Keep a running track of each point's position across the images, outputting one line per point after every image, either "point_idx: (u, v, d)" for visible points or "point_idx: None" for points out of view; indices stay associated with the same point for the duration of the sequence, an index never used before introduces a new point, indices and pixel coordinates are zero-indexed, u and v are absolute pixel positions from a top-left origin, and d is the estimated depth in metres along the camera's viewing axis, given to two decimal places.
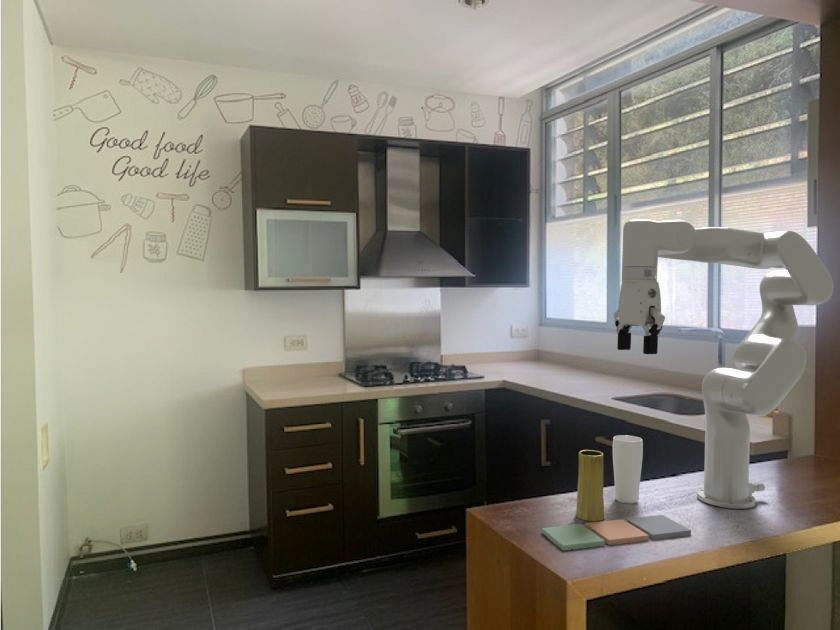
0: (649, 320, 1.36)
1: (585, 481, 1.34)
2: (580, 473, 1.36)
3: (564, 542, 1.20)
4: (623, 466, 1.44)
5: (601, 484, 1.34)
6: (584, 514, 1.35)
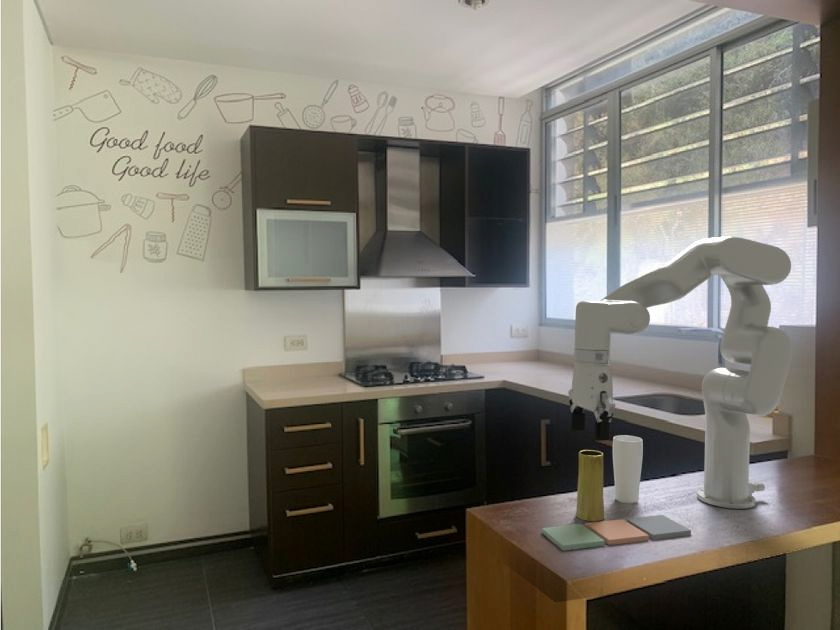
0: (601, 404, 1.33)
1: (585, 481, 1.34)
2: (580, 473, 1.36)
3: (564, 542, 1.20)
4: (623, 466, 1.44)
5: (601, 484, 1.34)
6: (584, 514, 1.35)
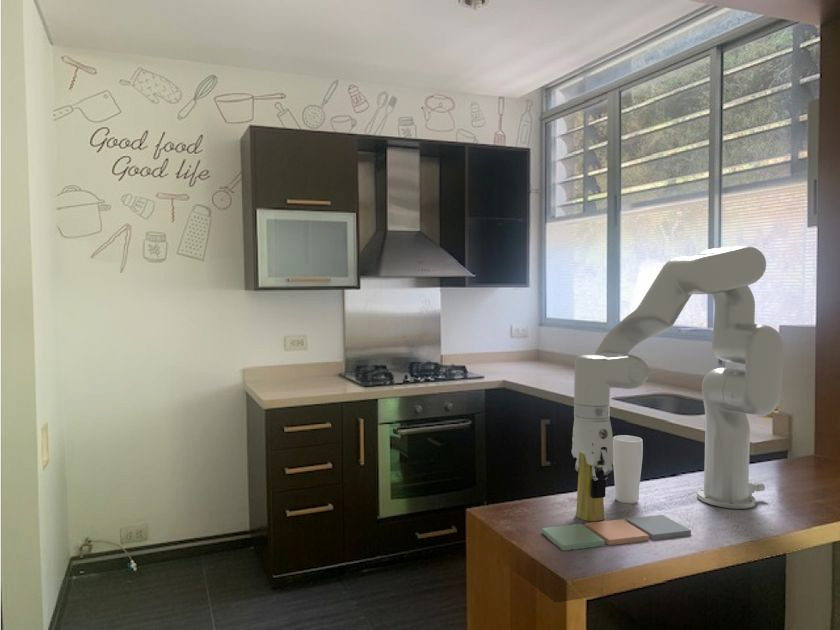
0: None
1: (585, 481, 1.34)
2: (580, 473, 1.36)
3: (564, 542, 1.20)
4: (623, 466, 1.44)
5: None
6: (584, 514, 1.35)
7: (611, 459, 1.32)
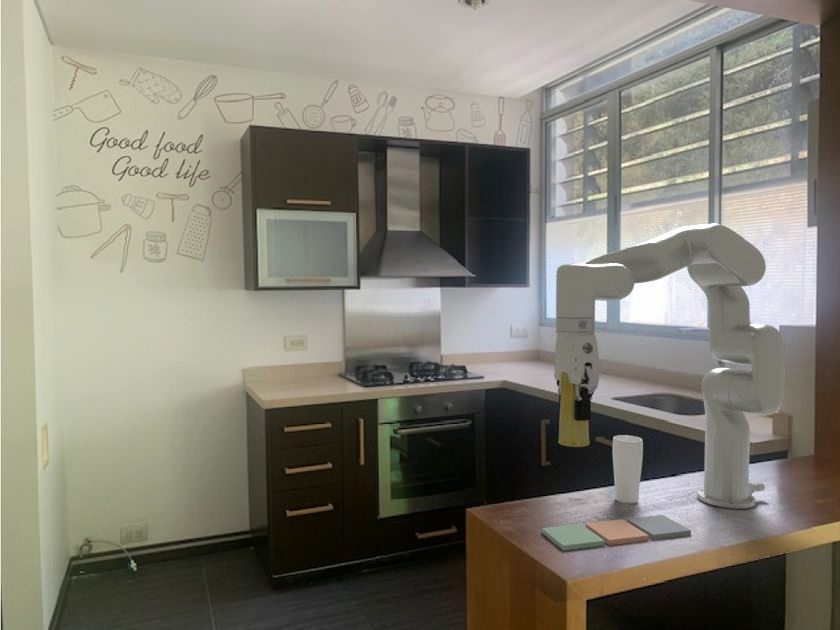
0: None
1: (568, 402, 1.21)
2: (562, 395, 1.23)
3: (564, 542, 1.20)
4: (623, 466, 1.44)
5: None
6: (566, 439, 1.22)
7: (596, 376, 1.19)
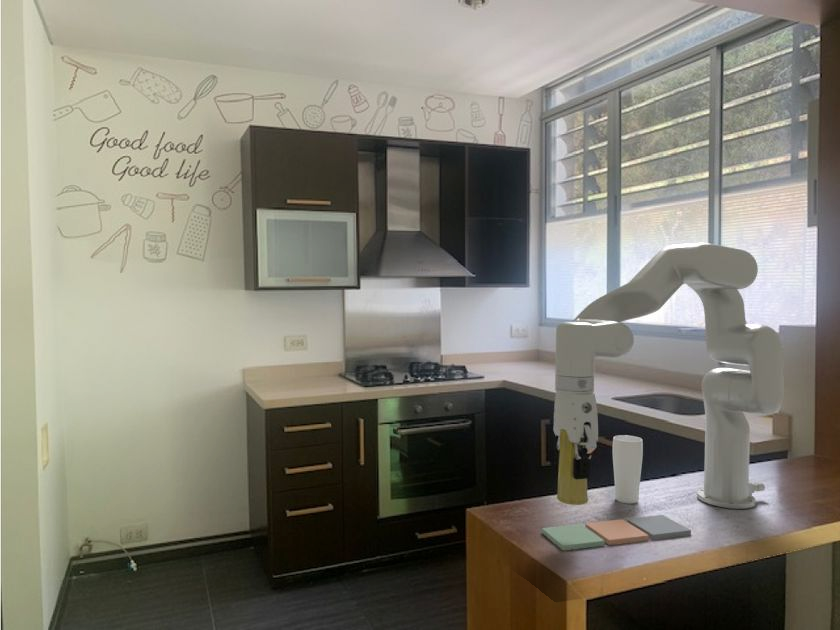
0: None
1: (567, 460, 1.22)
2: (561, 452, 1.23)
3: (564, 542, 1.20)
4: (623, 466, 1.44)
5: None
6: (565, 497, 1.22)
7: (595, 436, 1.19)
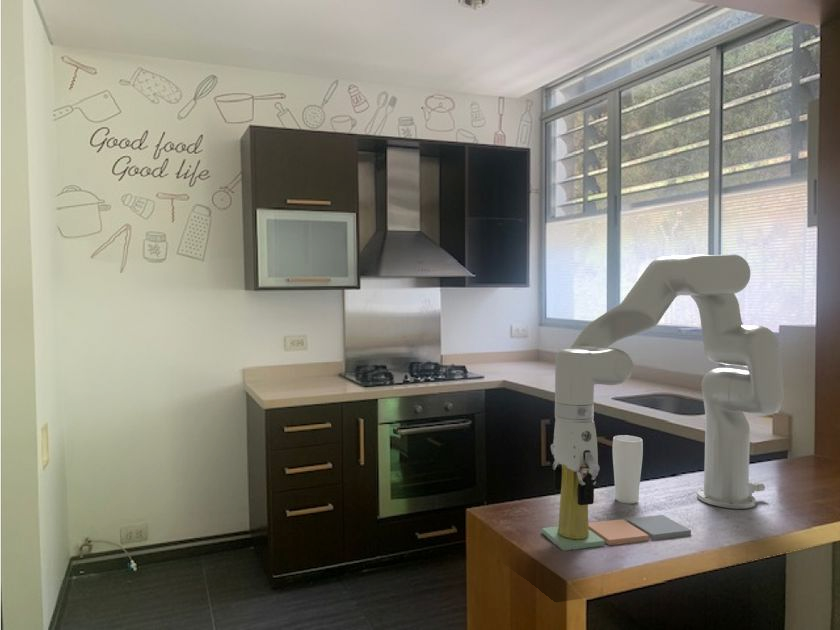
0: (585, 464, 1.21)
1: (568, 494, 1.22)
2: (563, 486, 1.23)
3: (564, 542, 1.20)
4: (623, 466, 1.44)
5: None
6: (566, 531, 1.22)
7: None
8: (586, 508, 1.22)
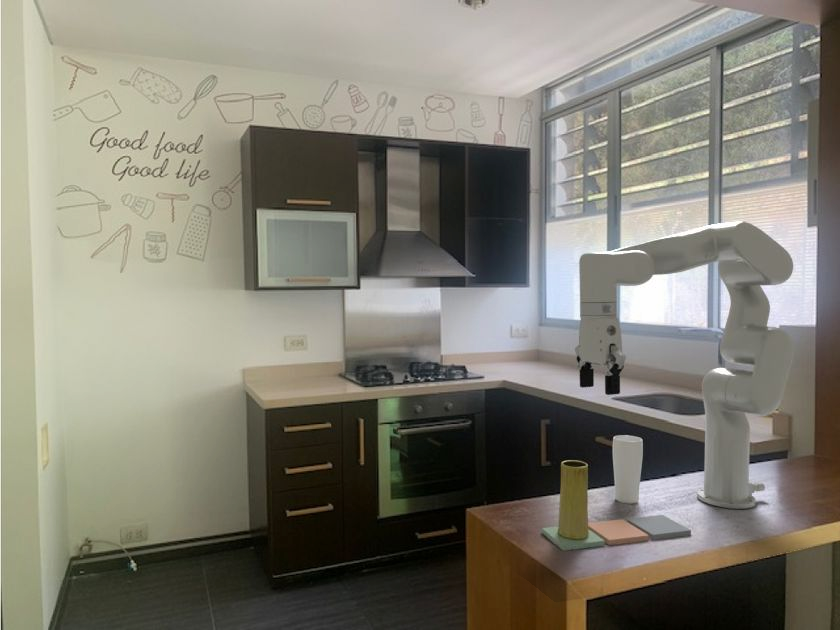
0: (610, 358, 1.29)
1: (568, 494, 1.22)
2: (562, 486, 1.23)
3: (564, 542, 1.20)
4: (623, 466, 1.44)
5: (585, 498, 1.22)
6: (566, 531, 1.22)
7: None
8: (586, 508, 1.22)
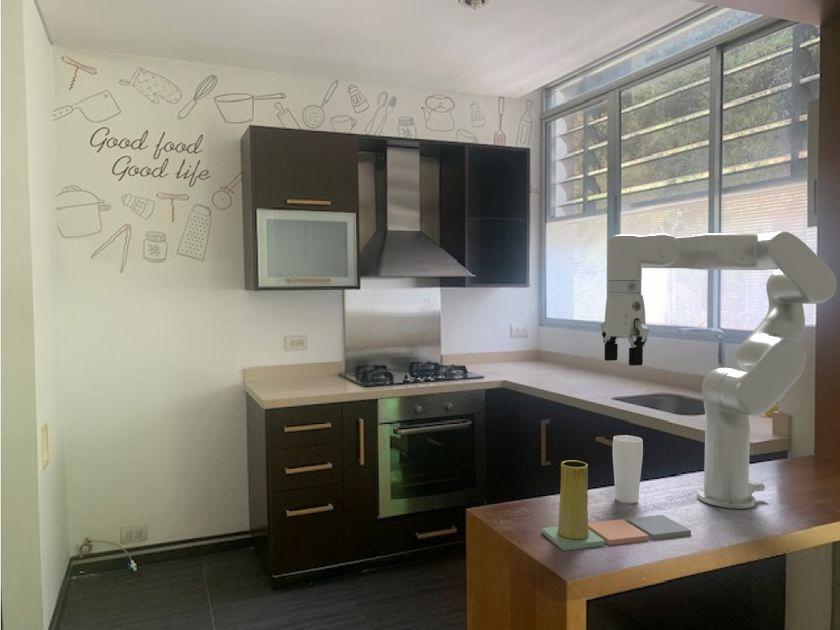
0: (634, 332, 1.40)
1: (568, 495, 1.22)
2: (562, 486, 1.23)
3: (564, 542, 1.20)
4: (623, 466, 1.44)
5: (585, 498, 1.22)
6: (566, 531, 1.22)
7: None
8: (586, 508, 1.22)
